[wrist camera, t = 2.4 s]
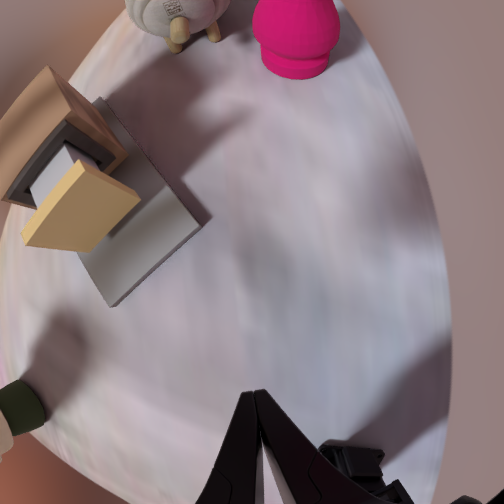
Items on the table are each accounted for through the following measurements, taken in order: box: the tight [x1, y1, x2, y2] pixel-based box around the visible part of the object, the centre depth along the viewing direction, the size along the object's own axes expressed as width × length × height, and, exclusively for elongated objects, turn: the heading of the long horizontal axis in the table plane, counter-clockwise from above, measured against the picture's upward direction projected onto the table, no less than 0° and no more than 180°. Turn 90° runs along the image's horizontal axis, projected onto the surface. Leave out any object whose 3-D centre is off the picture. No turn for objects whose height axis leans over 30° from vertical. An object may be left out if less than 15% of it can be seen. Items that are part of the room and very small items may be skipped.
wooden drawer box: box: [0, 65, 203, 308], centre depth 18 cm, size 18×10×9 cm, turn 40°
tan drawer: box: [21, 139, 141, 253], centre depth 17 cm, size 11×6×7 cm, turn 40°
